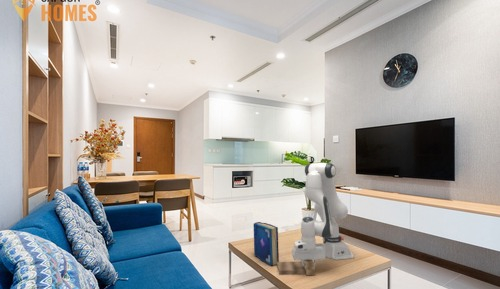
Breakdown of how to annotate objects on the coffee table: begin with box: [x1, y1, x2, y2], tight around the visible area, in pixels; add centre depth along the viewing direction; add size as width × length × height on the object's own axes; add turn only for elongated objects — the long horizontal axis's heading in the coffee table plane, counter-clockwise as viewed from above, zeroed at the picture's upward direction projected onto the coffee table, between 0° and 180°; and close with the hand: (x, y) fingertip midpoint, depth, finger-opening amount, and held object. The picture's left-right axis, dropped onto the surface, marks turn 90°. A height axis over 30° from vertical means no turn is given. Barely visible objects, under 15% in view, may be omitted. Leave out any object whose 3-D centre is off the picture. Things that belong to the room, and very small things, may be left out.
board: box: [276, 260, 306, 276], centre depth 151 cm, size 22×12×2 cm, turn 91°
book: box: [253, 221, 280, 267], centre depth 166 cm, size 22×7×25 cm, turn 35°
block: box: [303, 259, 316, 276], centre depth 147 cm, size 5×8×7 cm, turn 1°
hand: (308, 266), depth 147 cm, fingers closed on block, 5 cm apart
